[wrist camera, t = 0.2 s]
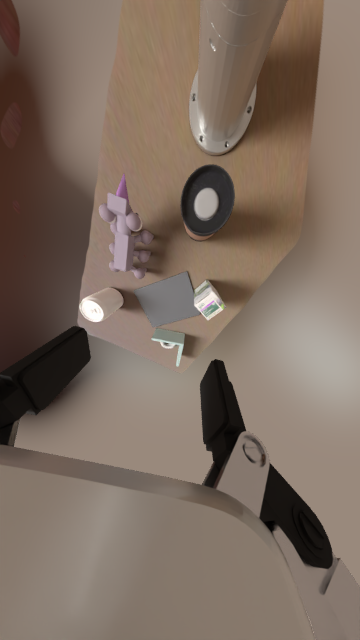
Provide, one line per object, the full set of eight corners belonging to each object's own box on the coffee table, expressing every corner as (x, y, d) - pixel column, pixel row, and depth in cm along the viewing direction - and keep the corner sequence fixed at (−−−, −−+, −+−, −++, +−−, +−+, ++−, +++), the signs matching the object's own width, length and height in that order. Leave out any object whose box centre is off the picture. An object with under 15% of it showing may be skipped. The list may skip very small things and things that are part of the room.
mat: (134, 290, 46) (133, 290, 45) (186, 271, 41) (186, 271, 41) (153, 326, 53) (152, 327, 52) (200, 313, 48) (200, 314, 47)
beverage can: (99, 288, 46) (72, 300, 36) (119, 285, 45) (97, 296, 35) (108, 308, 50) (86, 324, 40) (127, 306, 49) (109, 322, 39)
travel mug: (216, 209, 33) (244, 164, 16) (210, 243, 37) (227, 238, 19) (187, 206, 33) (182, 159, 16) (184, 240, 37) (177, 233, 20)
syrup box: (204, 301, 46) (208, 322, 33) (193, 289, 44) (193, 306, 31) (217, 291, 43) (227, 308, 31) (206, 278, 42) (213, 290, 29)
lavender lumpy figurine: (122, 186, 32) (87, 152, 21) (163, 203, 34) (151, 179, 22) (117, 267, 42) (91, 274, 30) (149, 277, 43) (136, 288, 32)
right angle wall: (156, 327, 53) (151, 338, 47) (184, 332, 53) (183, 344, 47) (154, 348, 59) (150, 360, 53) (180, 353, 59) (178, 366, 53)
